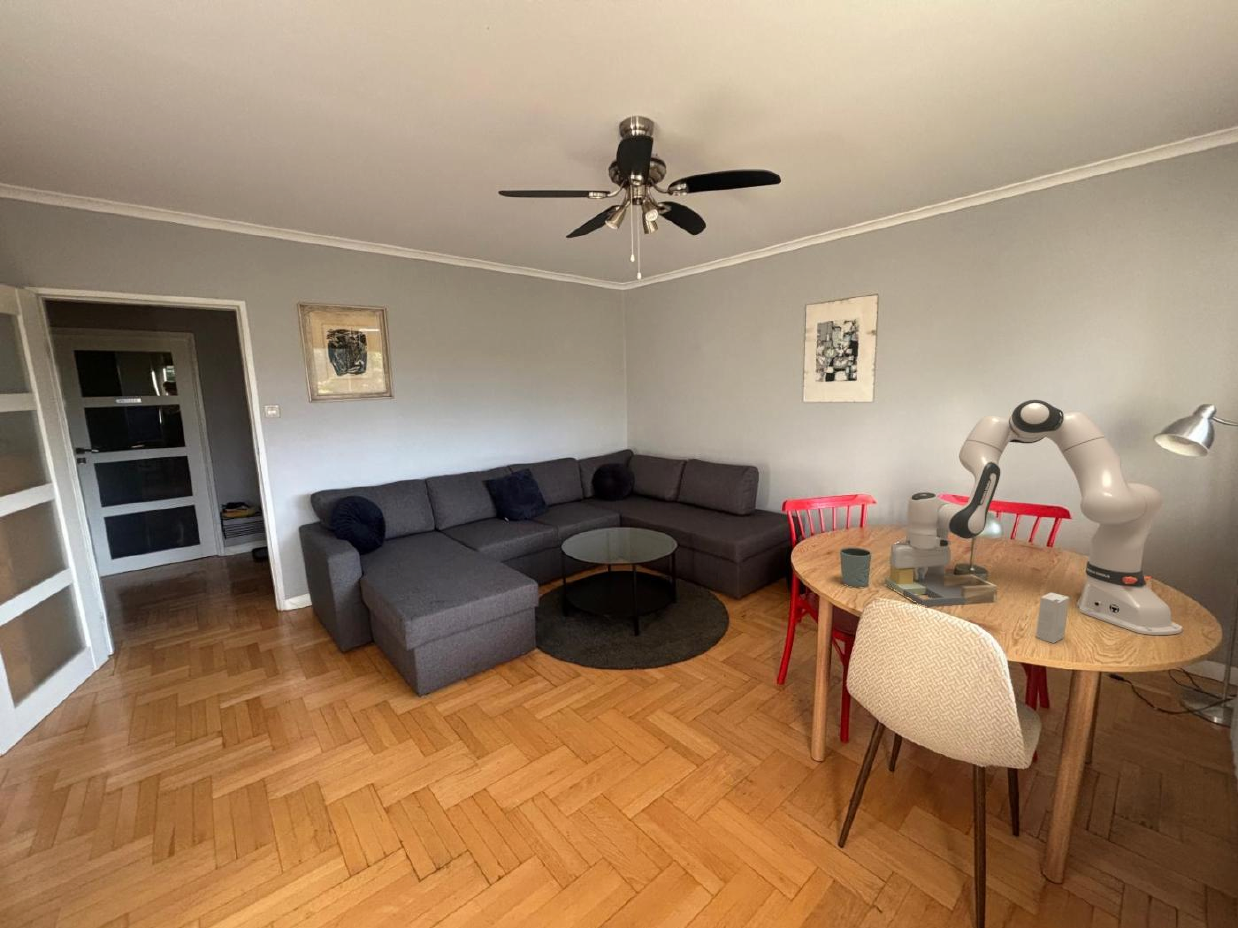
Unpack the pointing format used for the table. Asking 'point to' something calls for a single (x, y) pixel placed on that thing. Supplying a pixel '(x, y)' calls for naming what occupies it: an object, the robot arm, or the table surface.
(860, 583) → the teal cup
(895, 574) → the ochre block
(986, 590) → the brown wooden open box
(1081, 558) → the table surface
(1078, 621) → the table surface
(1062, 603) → the skincare box
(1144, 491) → the robot arm
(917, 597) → the grey tray
